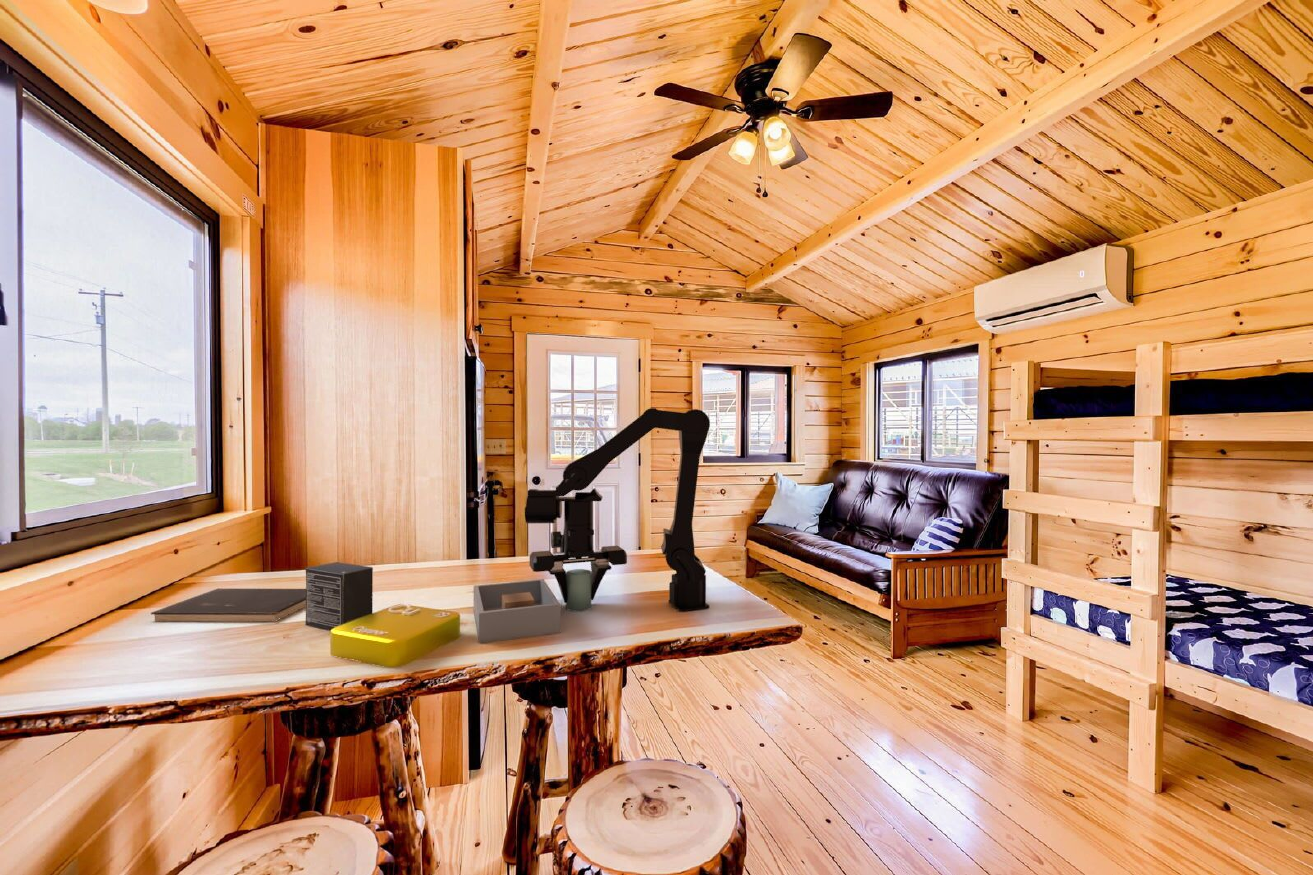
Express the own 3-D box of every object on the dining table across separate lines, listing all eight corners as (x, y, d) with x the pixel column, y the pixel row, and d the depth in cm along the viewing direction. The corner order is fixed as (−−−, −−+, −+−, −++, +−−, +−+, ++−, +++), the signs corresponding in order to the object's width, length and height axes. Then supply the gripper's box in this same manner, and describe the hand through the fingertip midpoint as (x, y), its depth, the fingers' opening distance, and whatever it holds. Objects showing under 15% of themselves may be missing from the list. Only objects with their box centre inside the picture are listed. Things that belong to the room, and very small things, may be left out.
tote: (543, 603, 114) (543, 579, 114) (560, 632, 98) (560, 604, 98) (473, 611, 109) (473, 585, 109) (479, 643, 93) (479, 613, 93)
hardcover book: (274, 625, 103) (274, 612, 103) (151, 624, 103) (151, 612, 103) (327, 598, 119) (327, 587, 119) (220, 598, 119) (219, 587, 119)
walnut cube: (529, 619, 103) (529, 592, 103) (534, 628, 98) (534, 599, 98) (501, 622, 101) (501, 594, 101) (504, 631, 96) (504, 603, 96)
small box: (375, 622, 103) (375, 565, 102) (342, 634, 97) (342, 574, 97) (337, 614, 107) (337, 560, 107) (303, 625, 101) (303, 567, 101)
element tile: (324, 657, 88) (323, 627, 88) (399, 626, 102) (398, 600, 102) (397, 672, 83) (396, 639, 83) (465, 637, 97) (465, 609, 97)
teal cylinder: (587, 602, 115) (587, 568, 115) (593, 609, 110) (593, 574, 110) (563, 604, 113) (563, 570, 113) (568, 612, 109) (568, 576, 108)
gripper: (612, 515, 122) (612, 585, 123) (525, 519, 116) (525, 594, 116) (627, 522, 112) (627, 600, 112) (533, 528, 105) (533, 610, 105)
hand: (578, 600), depth 112 cm, fingers closed on teal cylinder, 5 cm apart
